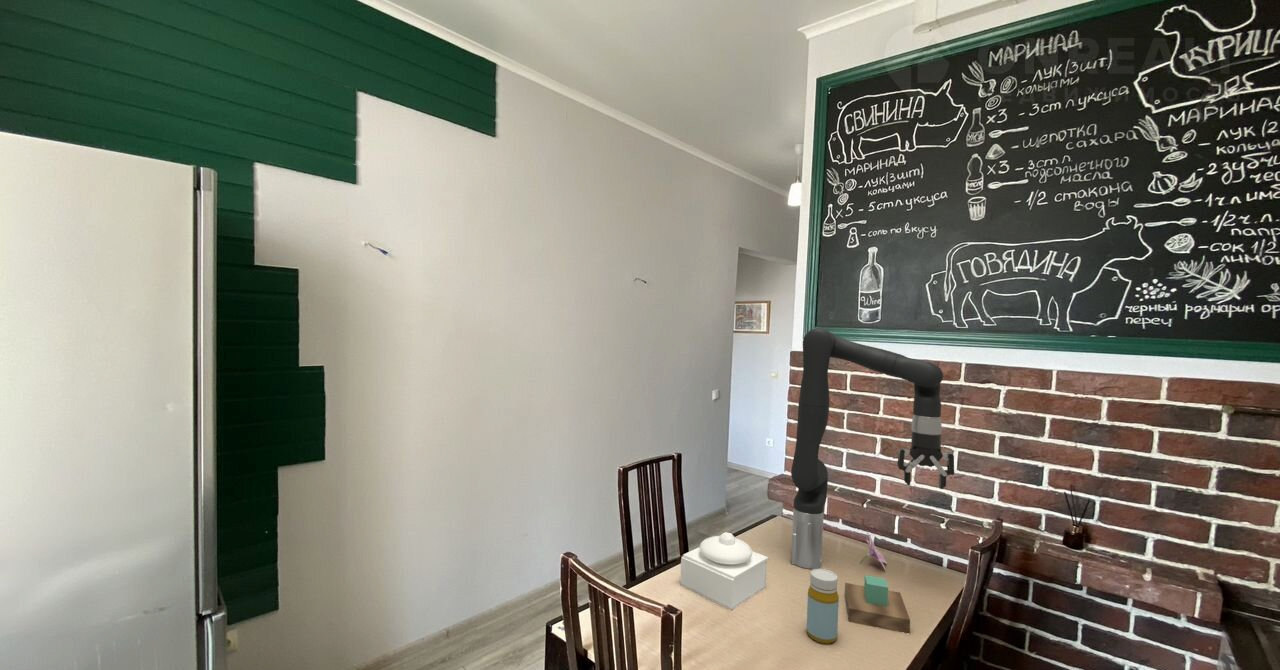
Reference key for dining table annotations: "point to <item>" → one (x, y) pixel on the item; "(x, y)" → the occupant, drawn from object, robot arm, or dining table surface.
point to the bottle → (822, 606)
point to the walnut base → (876, 610)
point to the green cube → (876, 590)
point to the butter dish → (724, 570)
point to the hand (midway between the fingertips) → (924, 486)
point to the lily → (874, 552)
